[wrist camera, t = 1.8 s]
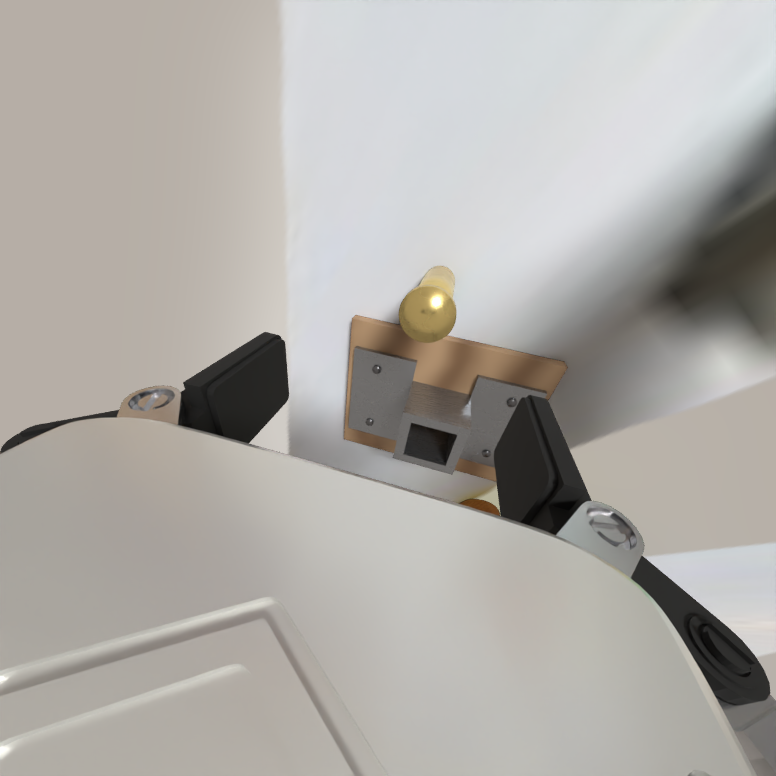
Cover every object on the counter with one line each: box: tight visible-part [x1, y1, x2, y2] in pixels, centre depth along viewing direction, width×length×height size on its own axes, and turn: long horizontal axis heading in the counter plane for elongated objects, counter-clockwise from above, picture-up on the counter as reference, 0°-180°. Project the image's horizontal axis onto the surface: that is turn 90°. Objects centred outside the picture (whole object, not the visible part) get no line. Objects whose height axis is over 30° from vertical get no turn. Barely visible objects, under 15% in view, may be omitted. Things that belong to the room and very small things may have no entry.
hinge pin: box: [399, 266, 456, 343], centre depth 23 cm, size 4×4×10 cm
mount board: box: [344, 315, 568, 482], centre depth 34 cm, size 22×18×1 cm
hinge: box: [348, 346, 547, 474], centre depth 31 cm, size 21×12×6 cm, turn 81°
